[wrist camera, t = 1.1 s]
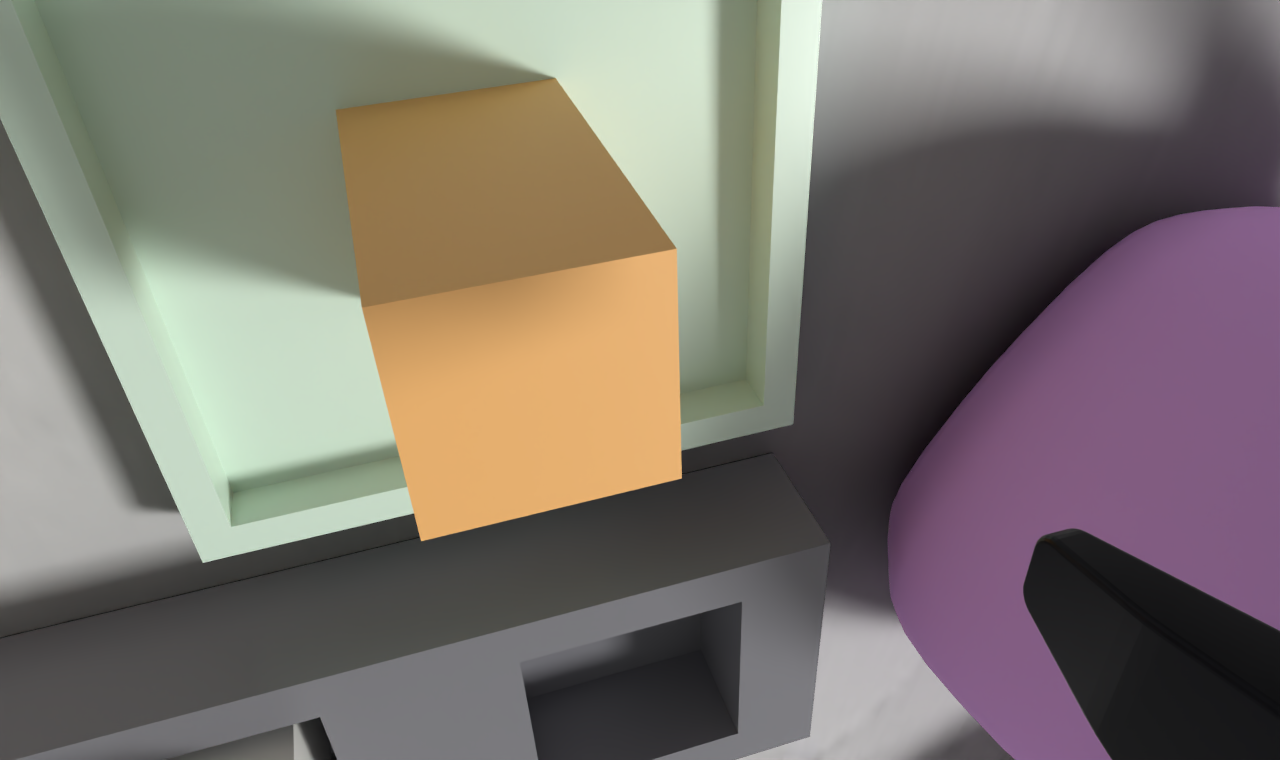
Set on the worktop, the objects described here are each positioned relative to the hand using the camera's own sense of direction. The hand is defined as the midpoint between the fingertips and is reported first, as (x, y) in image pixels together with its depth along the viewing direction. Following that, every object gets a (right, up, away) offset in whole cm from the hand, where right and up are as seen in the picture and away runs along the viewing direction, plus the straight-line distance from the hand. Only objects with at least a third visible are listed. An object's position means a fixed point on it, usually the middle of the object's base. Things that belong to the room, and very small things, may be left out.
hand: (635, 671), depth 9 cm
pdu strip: (-6, -4, +17) cm, 18 cm away
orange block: (-3, +6, +9) cm, 12 cm away
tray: (-3, +7, +10) cm, 12 cm away
